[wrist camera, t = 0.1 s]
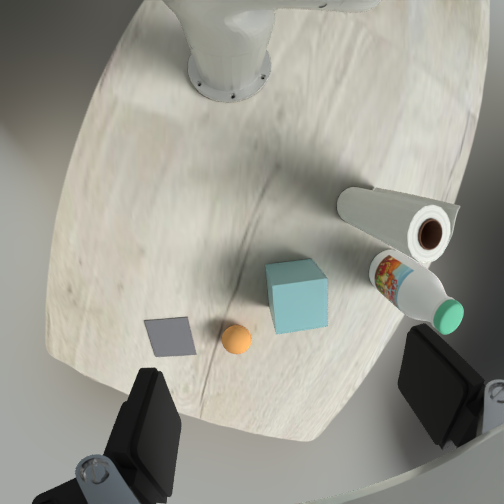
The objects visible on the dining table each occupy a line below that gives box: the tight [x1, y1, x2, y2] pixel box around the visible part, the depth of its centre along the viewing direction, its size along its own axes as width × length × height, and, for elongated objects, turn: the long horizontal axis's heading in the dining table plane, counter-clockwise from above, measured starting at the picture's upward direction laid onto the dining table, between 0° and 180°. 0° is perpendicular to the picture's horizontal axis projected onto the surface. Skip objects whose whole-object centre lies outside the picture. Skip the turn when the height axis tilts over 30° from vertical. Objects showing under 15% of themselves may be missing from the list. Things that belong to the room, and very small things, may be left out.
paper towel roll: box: [337, 187, 460, 263], centre depth 35 cm, size 7×6×21 cm
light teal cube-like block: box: [265, 259, 328, 334], centre depth 44 cm, size 8×8×9 cm
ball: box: [222, 325, 251, 354], centre depth 48 cm, size 5×5×5 cm
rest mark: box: [145, 317, 196, 357], centre depth 50 cm, size 8×8×1 cm
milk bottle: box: [369, 250, 463, 334], centre depth 39 cm, size 8×8×20 cm
